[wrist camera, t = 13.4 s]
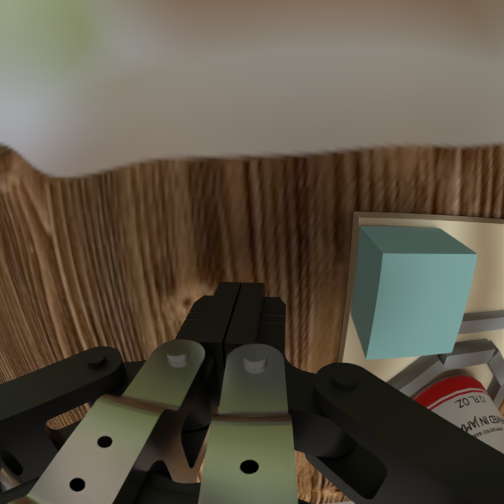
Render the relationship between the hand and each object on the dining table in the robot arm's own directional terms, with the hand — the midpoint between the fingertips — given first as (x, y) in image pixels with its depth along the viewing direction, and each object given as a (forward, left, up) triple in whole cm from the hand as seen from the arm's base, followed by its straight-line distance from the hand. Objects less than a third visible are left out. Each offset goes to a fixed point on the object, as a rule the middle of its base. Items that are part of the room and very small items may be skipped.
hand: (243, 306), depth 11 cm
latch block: (+7, 0, -4) cm, 8 cm away
